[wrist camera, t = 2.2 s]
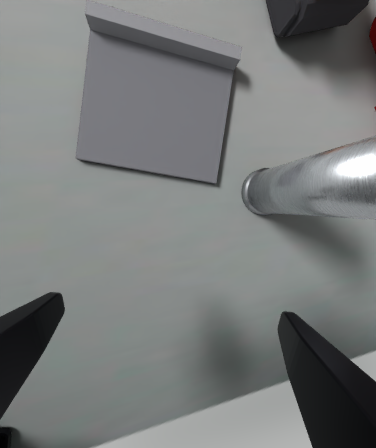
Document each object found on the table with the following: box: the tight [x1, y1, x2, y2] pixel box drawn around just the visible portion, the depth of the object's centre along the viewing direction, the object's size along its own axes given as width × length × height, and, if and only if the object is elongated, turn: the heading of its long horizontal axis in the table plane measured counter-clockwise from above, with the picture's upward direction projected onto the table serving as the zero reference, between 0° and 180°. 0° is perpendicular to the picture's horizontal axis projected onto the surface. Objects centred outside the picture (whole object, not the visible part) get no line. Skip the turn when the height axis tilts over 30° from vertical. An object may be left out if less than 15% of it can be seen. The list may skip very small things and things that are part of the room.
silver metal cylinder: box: [242, 136, 376, 219], centre depth 15 cm, size 4×4×12 cm
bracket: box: [76, 0, 242, 184], centre depth 18 cm, size 11×12×2 cm
